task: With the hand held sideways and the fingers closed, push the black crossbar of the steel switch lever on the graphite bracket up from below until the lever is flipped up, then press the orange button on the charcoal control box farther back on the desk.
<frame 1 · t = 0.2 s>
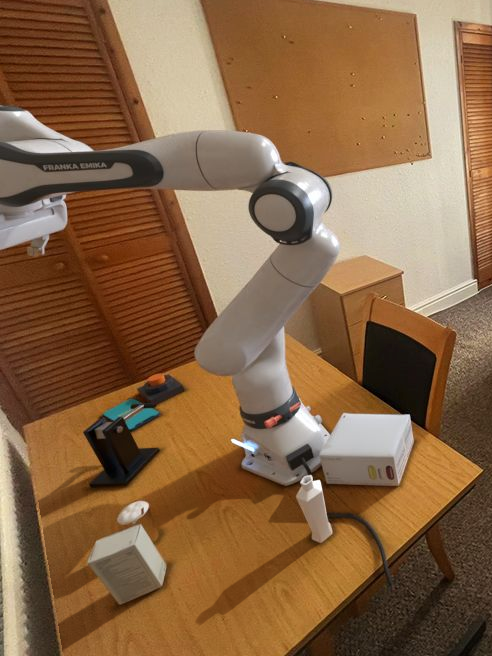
hand: (13, 263, 78), 52 cm above the table, tool tilted 20°, fingers open, 8 cm apart
lever: (124, 418, 96), point 11 cm above the table, hinge at -10.0°
cosmetic box: (143, 586, 73), on the table
button: (156, 379, 119), point 5 cm above the table, slide at 0.2 cm
control box: (162, 392, 121), on the table
supplement box: (372, 462, 97), on the table
milkshake: (150, 540, 80), on the table
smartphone: (132, 415, 112), on the table
bracket: (127, 468, 96), on the table
perfume bottle: (322, 533, 81), on the table
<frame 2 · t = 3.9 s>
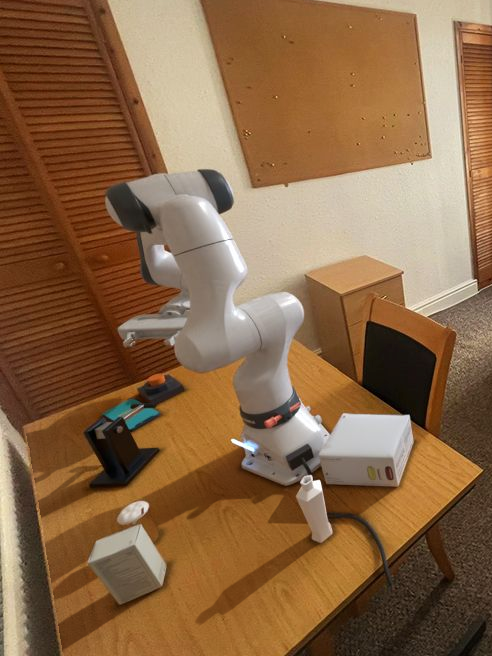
hand: (147, 344, 103), 23 cm above the table, tool horizontal, fingers open, 8 cm apart
nothing on the table moved.
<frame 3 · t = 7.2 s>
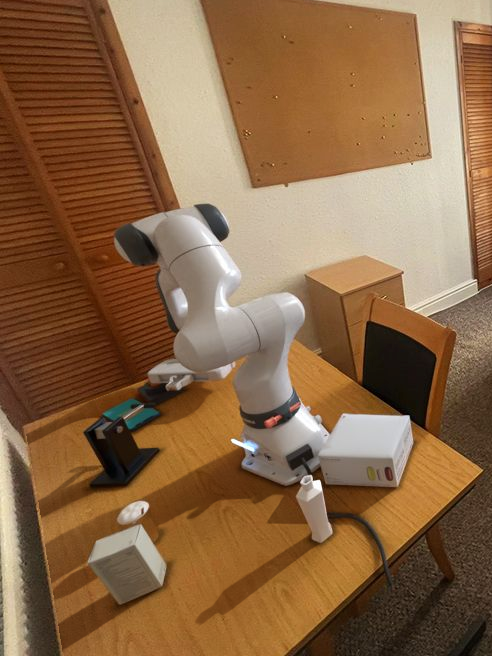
hand: (171, 388, 110), 8 cm above the table, tool horizontal, fingers closed
nothing on the table moved.
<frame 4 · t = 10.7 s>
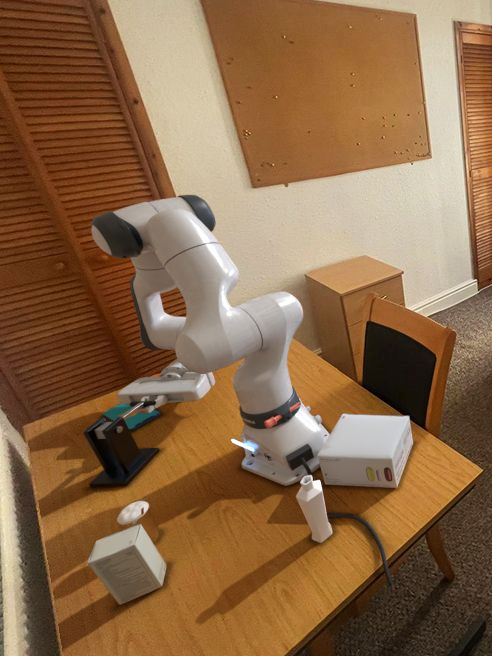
hand: (142, 411, 100), 9 cm above the table, tool horizontal, fingers closed, pressing on lever
lever: (124, 417, 96), point 12 cm above the table, hinge at -6.0°, touching gripper
everything else where it was.
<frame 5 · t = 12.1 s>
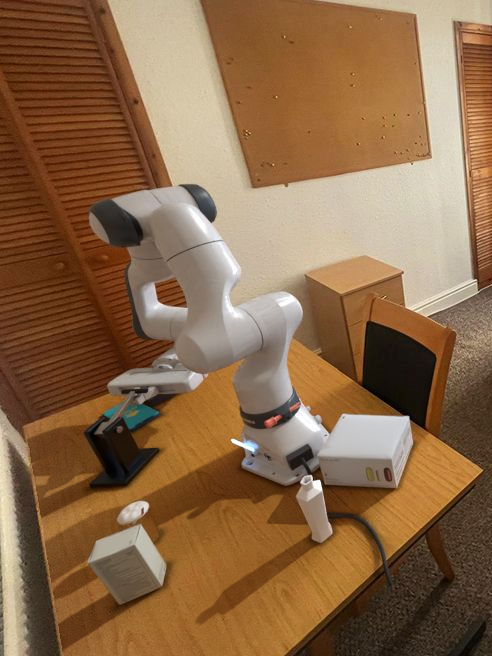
hand: (132, 402, 98), 13 cm above the table, tool horizontal, fingers closed, pressing on lever
lever: (120, 411, 95), point 13 cm above the table, hinge at 18.8°, touching gripper
everything else where it was.
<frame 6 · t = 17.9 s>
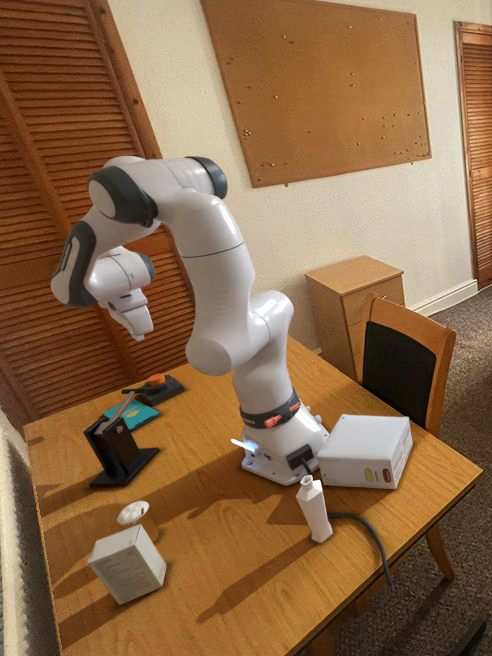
hand: (139, 338, 114), 19 cm above the table, tool pointing down, fingers closed
lever: (120, 411, 95), point 13 cm above the table, hinge at 18.8°
everything else where it was.
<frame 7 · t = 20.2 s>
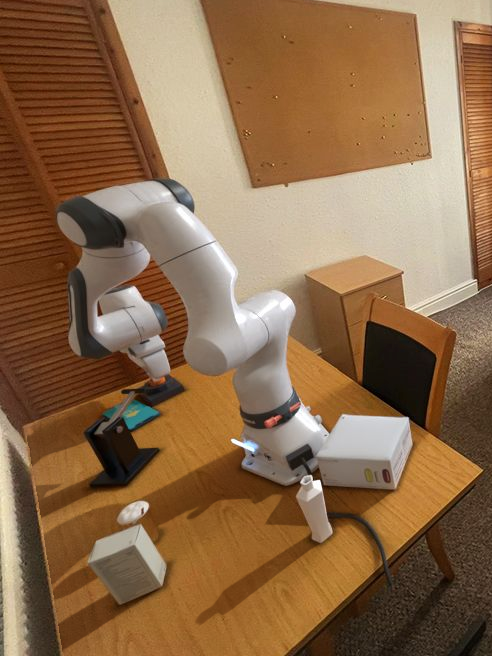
hand: (155, 379, 119), 5 cm above the table, tool pointing down, fingers closed, pressing on button
button: (157, 381, 120), point 4 cm above the table, slide at -0.5 cm, touching gripper
everything else where it was.
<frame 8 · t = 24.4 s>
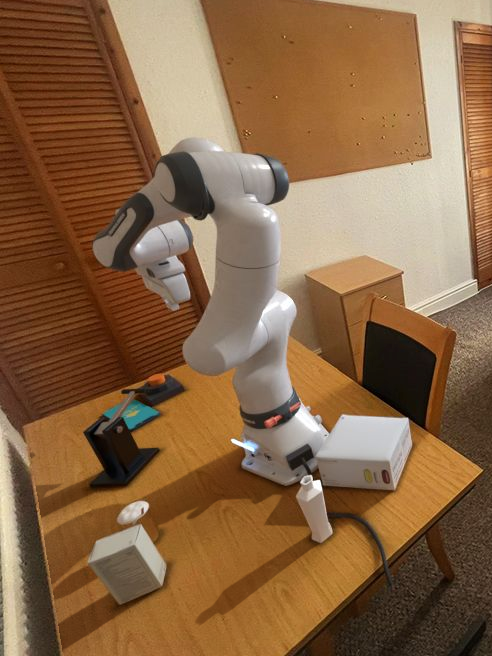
hand: (174, 308, 113), 27 cm above the table, tool pointing down, fingers closed
button: (156, 380, 119), point 5 cm above the table, slide at 0.1 cm
everything else where it was.
at the end: lever at +19° (first picture: -10°); button pushed in 1.0 cm at the most during the clip, back to where it started at the end; button slide at 0.1 cm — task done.
